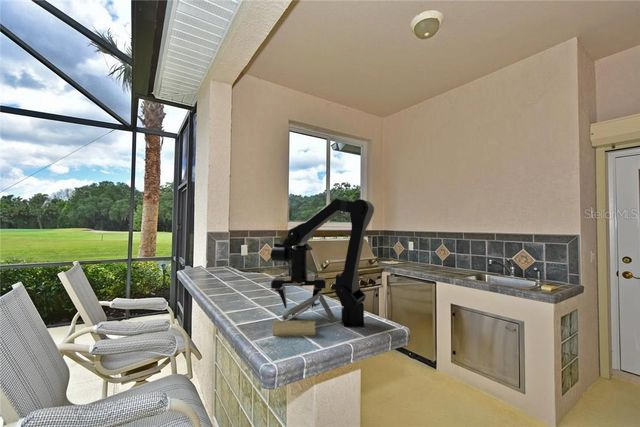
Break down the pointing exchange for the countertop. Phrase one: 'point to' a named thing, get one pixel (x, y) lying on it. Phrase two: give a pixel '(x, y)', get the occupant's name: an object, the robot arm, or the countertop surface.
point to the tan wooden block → (293, 328)
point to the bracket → (307, 305)
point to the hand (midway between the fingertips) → (299, 307)
